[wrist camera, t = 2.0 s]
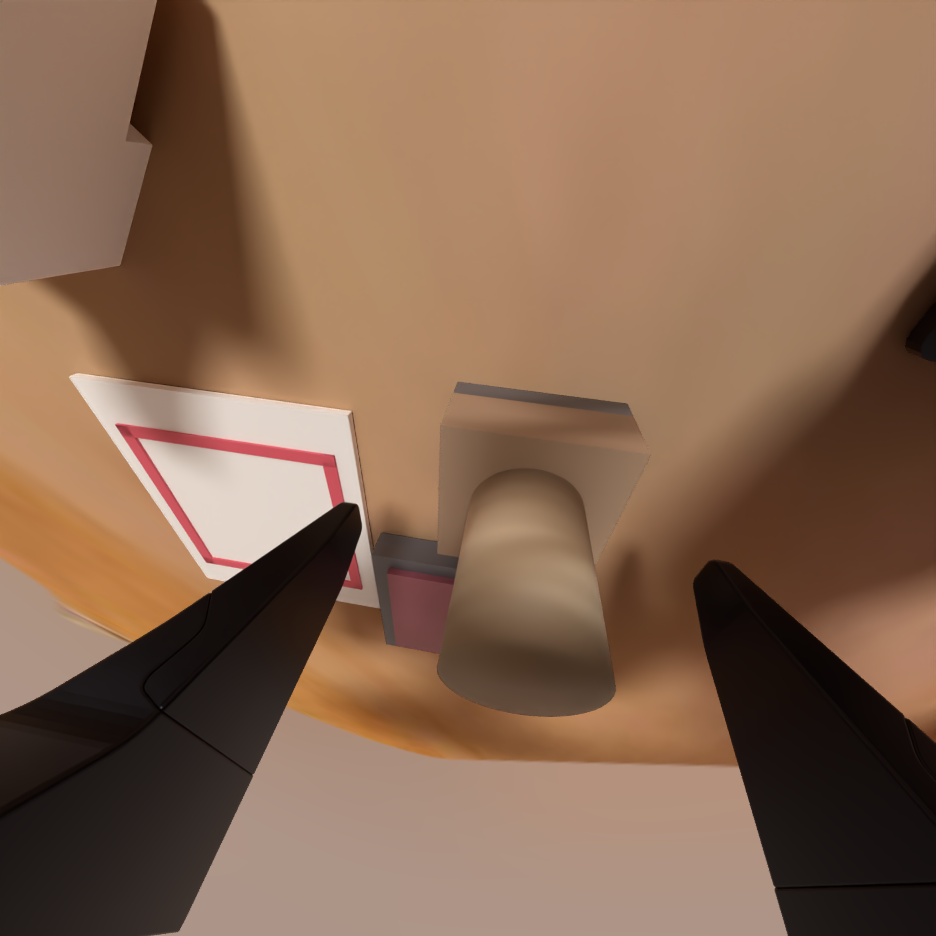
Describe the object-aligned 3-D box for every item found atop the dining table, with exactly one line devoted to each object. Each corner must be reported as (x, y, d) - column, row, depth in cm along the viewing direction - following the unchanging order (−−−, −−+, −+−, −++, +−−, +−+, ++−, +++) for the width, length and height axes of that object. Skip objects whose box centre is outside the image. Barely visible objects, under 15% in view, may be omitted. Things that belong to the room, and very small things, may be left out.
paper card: (351, 411, 11) (346, 417, 11) (381, 603, 19) (379, 610, 19) (77, 373, 12) (65, 377, 12) (211, 573, 20) (206, 579, 19)
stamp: (626, 402, 10) (741, 645, 5) (579, 519, 13) (614, 747, 8) (458, 381, 10) (377, 583, 5) (451, 500, 14) (397, 705, 8)
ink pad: (587, 566, 15) (592, 598, 13) (547, 650, 20) (548, 679, 18) (381, 532, 15) (368, 560, 14) (392, 623, 20) (384, 649, 19)
